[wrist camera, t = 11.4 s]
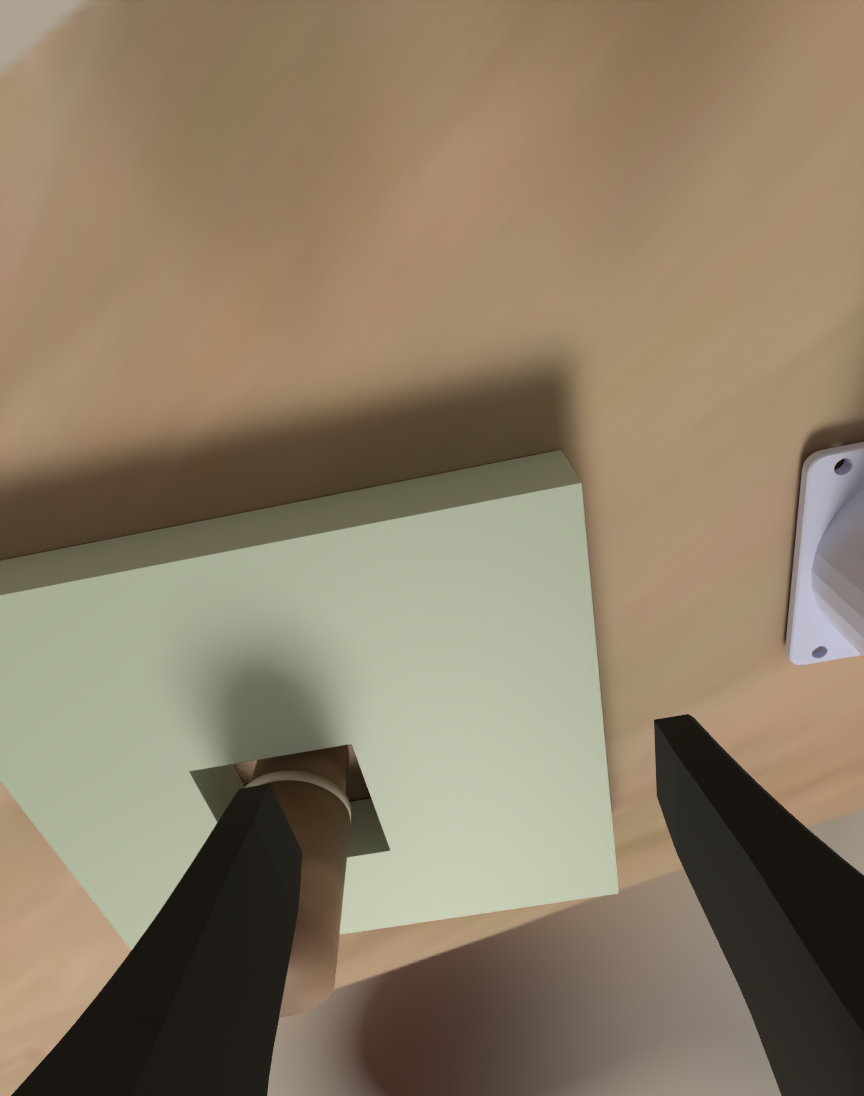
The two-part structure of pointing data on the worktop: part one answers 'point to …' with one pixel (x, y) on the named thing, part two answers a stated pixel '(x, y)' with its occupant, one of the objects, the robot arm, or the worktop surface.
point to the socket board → (324, 692)
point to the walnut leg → (313, 864)
